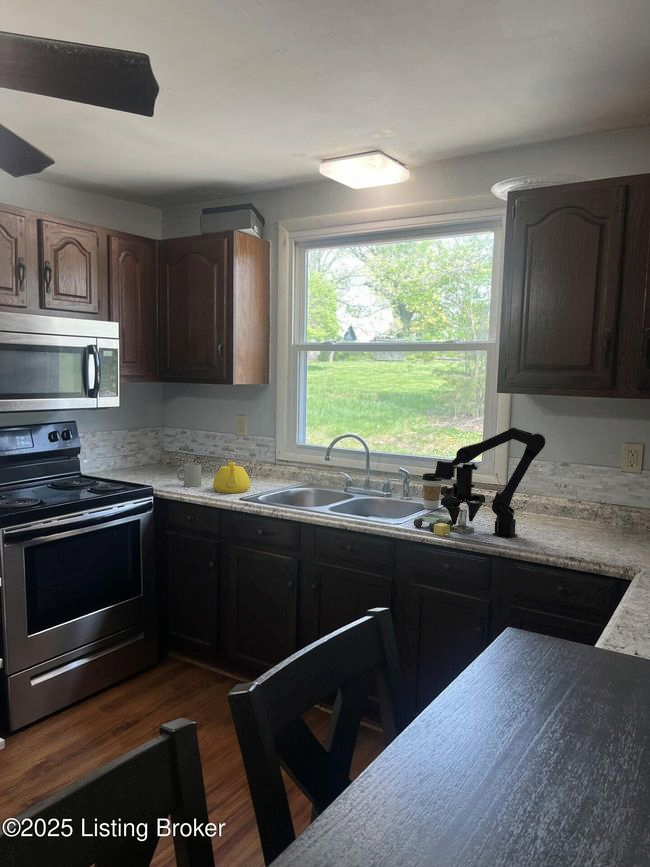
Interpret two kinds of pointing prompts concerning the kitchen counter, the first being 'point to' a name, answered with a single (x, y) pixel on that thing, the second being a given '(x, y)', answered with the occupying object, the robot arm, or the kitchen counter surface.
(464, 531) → the socket
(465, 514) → the pin
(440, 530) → the block
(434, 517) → the trolley
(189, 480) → the mug
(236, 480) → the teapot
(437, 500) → the coffee cup
